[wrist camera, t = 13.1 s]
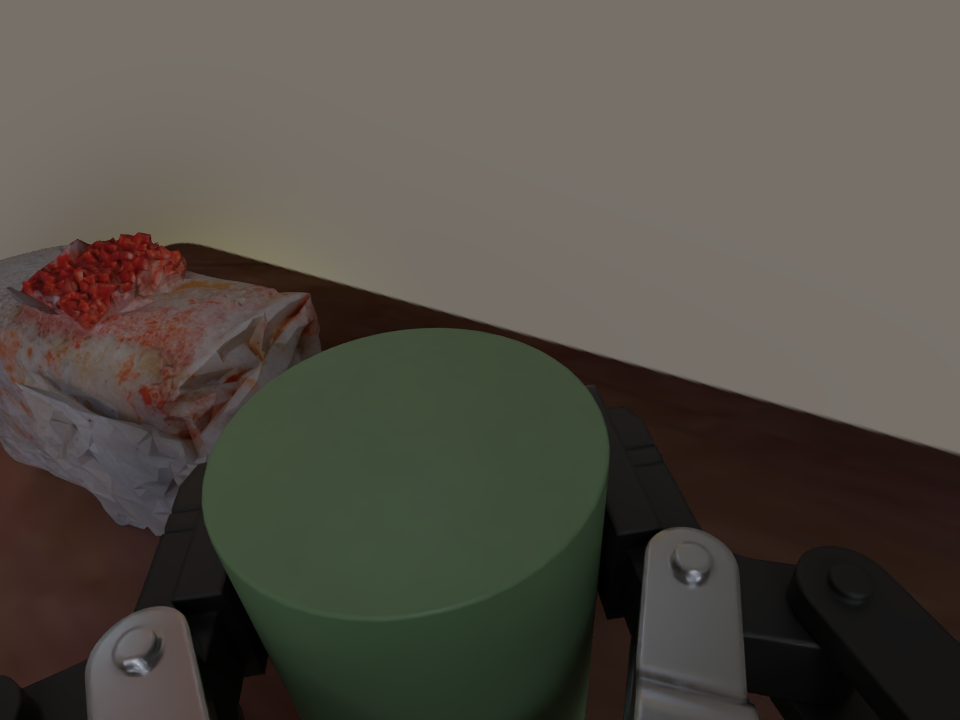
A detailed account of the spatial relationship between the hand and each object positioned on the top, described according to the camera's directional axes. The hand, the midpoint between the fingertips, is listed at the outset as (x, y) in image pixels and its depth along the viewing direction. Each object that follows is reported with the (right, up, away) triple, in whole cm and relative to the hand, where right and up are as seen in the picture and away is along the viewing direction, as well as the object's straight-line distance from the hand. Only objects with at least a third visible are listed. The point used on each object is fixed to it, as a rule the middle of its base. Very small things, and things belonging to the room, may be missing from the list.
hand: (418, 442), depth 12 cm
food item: (-11, -3, +13) cm, 17 cm away
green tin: (+1, -6, +1) cm, 6 cm away
